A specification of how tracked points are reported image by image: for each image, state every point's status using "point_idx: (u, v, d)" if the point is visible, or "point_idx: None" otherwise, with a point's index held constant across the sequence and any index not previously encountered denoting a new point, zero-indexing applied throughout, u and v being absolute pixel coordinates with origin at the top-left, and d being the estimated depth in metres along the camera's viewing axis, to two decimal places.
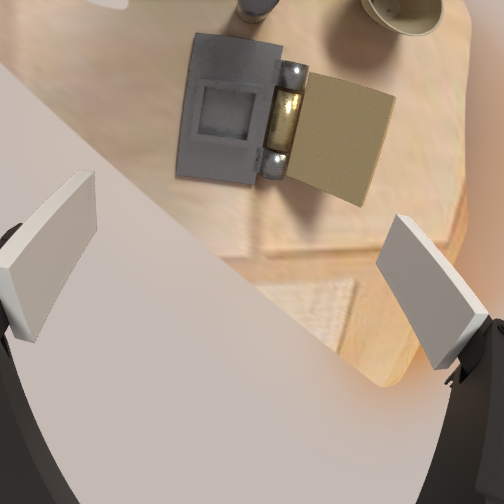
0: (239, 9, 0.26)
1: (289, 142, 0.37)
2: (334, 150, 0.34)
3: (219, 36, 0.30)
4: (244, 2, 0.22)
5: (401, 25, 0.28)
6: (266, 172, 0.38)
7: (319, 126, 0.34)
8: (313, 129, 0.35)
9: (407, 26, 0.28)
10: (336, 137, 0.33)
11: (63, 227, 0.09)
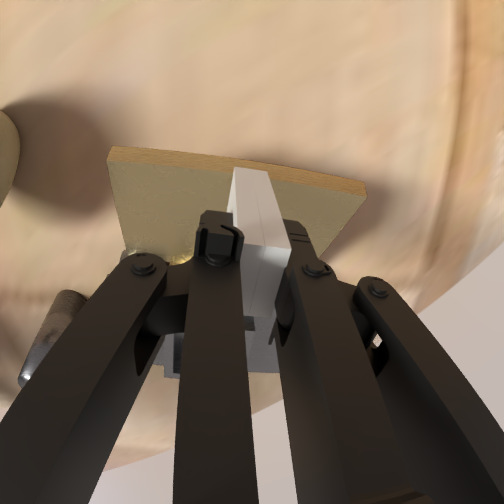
0: None
1: None
2: None
3: None
4: None
5: (4, 123, 0.15)
6: None
7: None
8: None
9: None
10: None
11: None
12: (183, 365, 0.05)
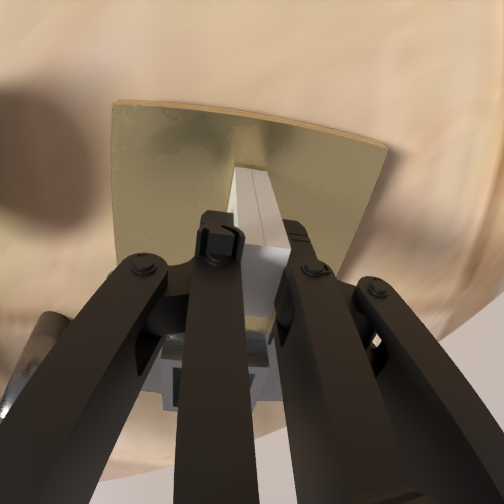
0: None
1: None
2: None
3: None
4: None
5: None
6: None
7: None
8: None
9: None
10: None
11: None
12: (184, 365, 0.05)
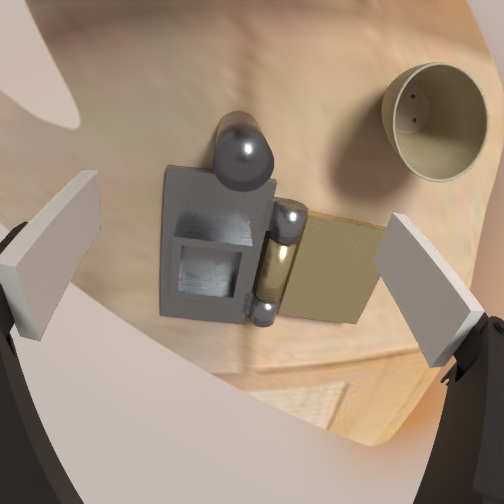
0: None
1: None
2: (333, 288, 0.35)
3: (196, 173, 0.28)
4: (221, 180, 0.19)
5: (428, 148, 0.26)
6: (255, 320, 0.36)
7: (318, 269, 0.34)
8: (311, 273, 0.34)
9: (436, 151, 0.25)
10: (336, 277, 0.34)
11: (68, 226, 0.09)
12: None
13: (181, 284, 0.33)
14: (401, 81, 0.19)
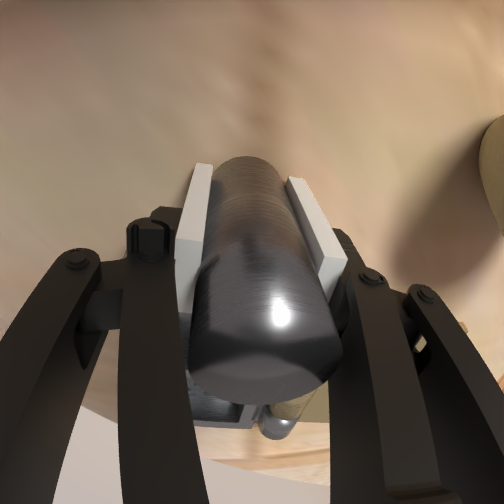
0: None
1: None
2: None
3: None
4: (212, 392, 0.08)
5: None
6: (267, 433, 0.24)
7: None
8: None
9: None
10: None
11: None
12: (120, 365, 0.05)
13: None
14: None
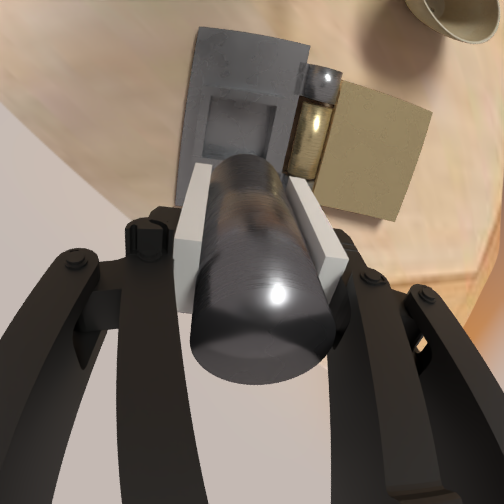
0: None
1: None
2: (371, 170, 0.31)
3: (229, 31, 0.23)
4: (214, 371, 0.08)
5: (450, 29, 0.21)
6: None
7: (354, 145, 0.29)
8: (347, 149, 0.30)
9: (457, 30, 0.21)
10: (373, 156, 0.30)
11: None
12: (119, 365, 0.05)
13: (204, 153, 0.29)
14: None
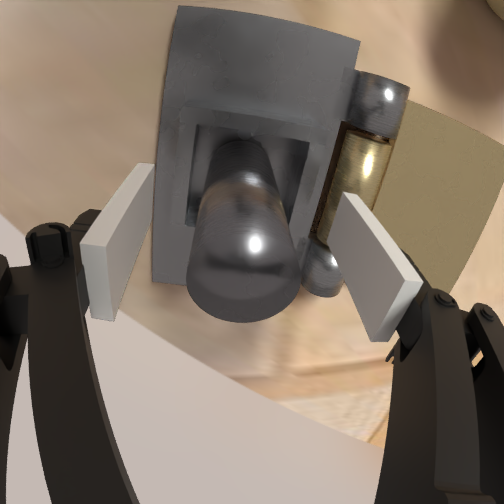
0: None
1: None
2: (432, 232, 0.21)
3: (229, 12, 0.13)
4: (204, 307, 0.11)
5: None
6: (314, 285, 0.21)
7: (415, 198, 0.19)
8: (404, 203, 0.20)
9: None
10: (438, 213, 0.20)
11: (136, 213, 0.11)
12: (31, 377, 0.04)
13: (190, 215, 0.18)
14: None
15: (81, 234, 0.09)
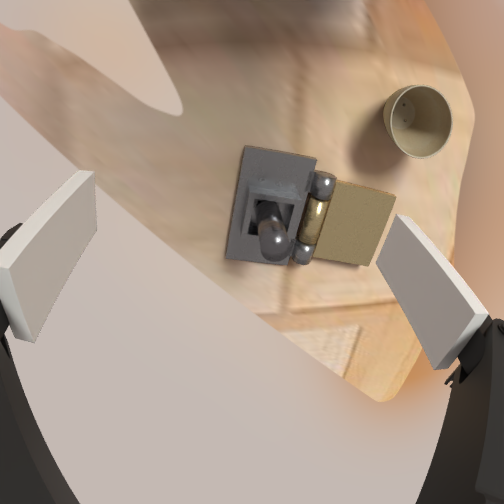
0: None
1: None
2: (352, 236, 0.49)
3: (265, 151, 0.42)
4: (264, 256, 0.40)
5: (414, 138, 0.40)
6: (298, 259, 0.50)
7: (342, 221, 0.48)
8: (337, 224, 0.48)
9: (419, 140, 0.40)
10: (354, 227, 0.49)
11: (63, 227, 0.09)
12: None
13: (248, 230, 0.47)
14: (395, 97, 0.34)
15: None
